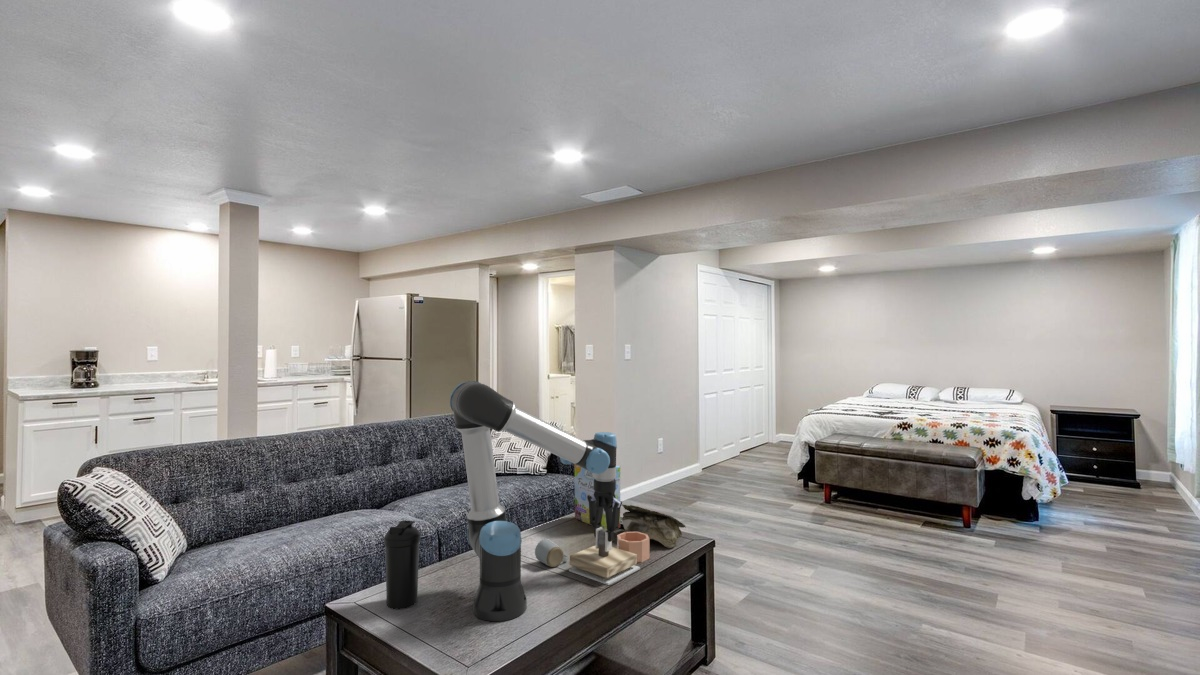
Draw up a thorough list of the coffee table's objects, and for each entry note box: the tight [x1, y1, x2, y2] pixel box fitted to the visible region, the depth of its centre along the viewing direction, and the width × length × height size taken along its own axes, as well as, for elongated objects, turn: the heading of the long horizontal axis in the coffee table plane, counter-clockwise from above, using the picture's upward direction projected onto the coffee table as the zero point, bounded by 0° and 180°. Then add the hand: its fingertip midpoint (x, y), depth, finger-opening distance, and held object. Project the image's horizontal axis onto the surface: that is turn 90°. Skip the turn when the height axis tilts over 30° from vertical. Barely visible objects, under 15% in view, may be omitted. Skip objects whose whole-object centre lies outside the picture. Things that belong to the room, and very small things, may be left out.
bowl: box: [616, 531, 651, 563], centre depth 204 cm, size 11×11×7 cm
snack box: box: [573, 464, 621, 530], centre depth 241 cm, size 22×9×26 cm, turn 41°
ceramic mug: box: [534, 538, 569, 568], centre depth 198 cm, size 11×8×8 cm
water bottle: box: [383, 520, 422, 610], centre depth 167 cm, size 10×10×23 cm
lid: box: [569, 529, 638, 578], centre depth 192 cm, size 16×16×11 cm
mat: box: [568, 565, 641, 586], centre depth 192 cm, size 17×17×1 cm
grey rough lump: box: [621, 503, 687, 549], centre depth 221 cm, size 28×13×15 cm
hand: (603, 548), depth 192 cm, fingers closed on lid, 3 cm apart
